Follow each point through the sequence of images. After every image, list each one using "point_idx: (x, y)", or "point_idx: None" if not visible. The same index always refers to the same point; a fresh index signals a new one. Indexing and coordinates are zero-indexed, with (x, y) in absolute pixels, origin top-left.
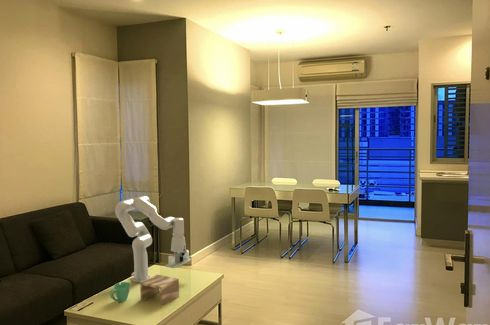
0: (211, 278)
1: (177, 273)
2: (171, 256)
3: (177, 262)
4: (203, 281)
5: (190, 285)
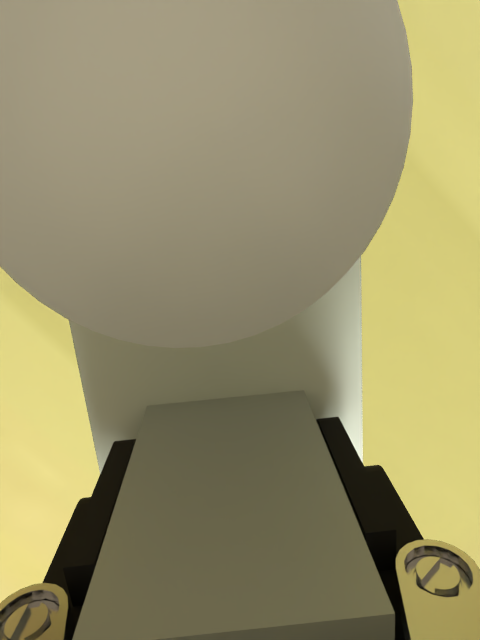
0: (13, 581)
1: (441, 497)
2: (178, 104)
3: (215, 403)
4: (11, 480)
5: (31, 314)
